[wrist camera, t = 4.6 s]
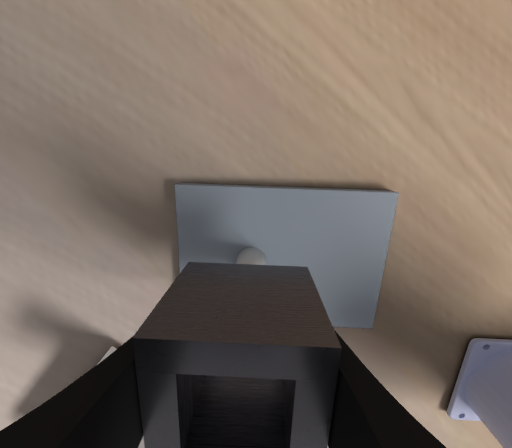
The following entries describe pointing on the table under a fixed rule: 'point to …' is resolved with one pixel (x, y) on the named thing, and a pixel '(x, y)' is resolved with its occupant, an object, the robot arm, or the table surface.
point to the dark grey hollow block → (237, 360)
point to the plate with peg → (294, 237)
